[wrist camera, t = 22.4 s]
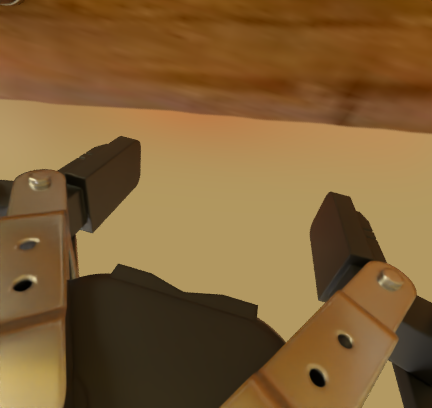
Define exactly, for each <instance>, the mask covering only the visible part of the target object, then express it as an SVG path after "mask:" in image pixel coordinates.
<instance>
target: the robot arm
mask: <svg viewBox="0 0 432 408" xmlns="http://www.w3.org/2000/svg"><path fill="white" fill-rule="evenodd" d="M23 1H24V0H0V4H1V5H8V6H15V5H19V4H21V3H22V2H23ZM140 157H141V146H140V142H139V141H138V140H135V139H131V138H127V137H123V136H120V137H118V138H117V139H115V140H113V141H112V142H110V143H109V144H105V145H101V146H98V147H94V148H93V149H91V150H89V151H88V152H87V153H86V154H83V155H81V156H80V157H79V158H77V159H75V160H74V161H72V162H70V163H69V164H67V165H66V166H64V167H62V168H61V169H60V170H58V171H55V170H48V169H42V170H33V171H29V172H26V173H23V174H21V175H19V176H18V177H16V179H15V180H14V181H8V180H0V408H362V406H363V404H364V402H365V400H366V399H367V397H368V395H369V393H370V391H371V389H372V387H373V386H374V384H375V382H376V380H377V379H378V377H379V375H380V373H381V371H382V370H383V368H384V366H385V364H386V362H387V361H388V360H389V361H391V362H392V365H393V369H394V372H395V376H396V380H397V383H398V387H399V391H400V394H401V398H402V402H403V405H404V408H432V303H431V302H429V301H427V300H425V299H423V298H421V297H419V296H417V293H416V288H415V286H414V284H413V283H412V281H411V280H410V279H409V278H408V277H407V276H406V275H405V274H404V273H403V272H401V271H400V270H399V269H397V268H395V267H393V266H392V265H390V264H387V262H386V260H385V258H384V255H383V253H382V251H381V249H380V246H379V244H378V242H377V240H376V237H375V235H374V233H373V232H372V228H371V226H370V224H369V221H368V220H367V219H366V218H365V217H364V216H363V215H362V214H361V213H360V212H357V211H356V210H355V208H354V205H353V203H352V200H351V198H350V197H349V196H345V195H341V194H338V193H333V192H329V193H328V194H327V195H326V197H325V199H324V201H323V203H322V205H321V207H320V209H319V211H318V213H317V215H316V217H315V218H314V220H313V223H312V225H311V229H310V241H311V248H312V256H313V264H314V271H315V279H316V287H317V294H318V300H319V301H322V302H325V304H324V305H323V306H322V307H321V308H320V309H319V310H318V311H317V312H316V313H315V314H314V315H313V316H312V317H311V318H310V319H309V320H308V321H307V322H306V323H305V324H304V325H303V326H302V327H301V328H300V329H299V330H298V331H297V332H296V333H295V334H294V335H293V336H292V337H291V338H290V339H289V341H287V342H285V341H284V340H283V338H282V337H281V336H280V335H279V334H278V333H277V332H276V331H275V330H274V329H273V328H271V327H270V326H269V325H268V324H266V323H265V322H264V321H262V320H260V319H259V318H257V309H258V305H255V304H252V303H248V302H245V301H242V300H238V299H235V298H232V297H228V296H225V295H217V294H203V293H188V292H183V291H181V290H179V289H177V288H176V287H174V286H172V285H170V284H169V283H167V282H165V281H164V280H162V279H160V278H158V277H157V276H155V275H153V274H152V273H148V272H145V271H142V270H138V269H135V268H132V267H128V266H125V265H121V264H118V265H117V266H116V267H115V269H114V270H113V272H112V273H111V274H93V275H87V276H83V277H79V267H78V252H77V239H76V233H77V232H78V231H79V230H83V231H86V232H90V233H93V232H94V231H95V230H96V229H97V228H98V227H99V226H100V225H101V224H102V223H103V221H104V220H105V219H106V218H107V217H108V216H109V215H110V214H111V213H112V212H113V211H114V210H115V209H116V208H117V206H118V205H119V204H120V203H121V202H122V201H123V200H124V199H125V198H126V197H127V196H128V195H129V193H130V192H131V191H132V190H133V189H134V188H135V187H136V186H137V184H138V182H139V178H140V160H141V158H140Z"/></svg>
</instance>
